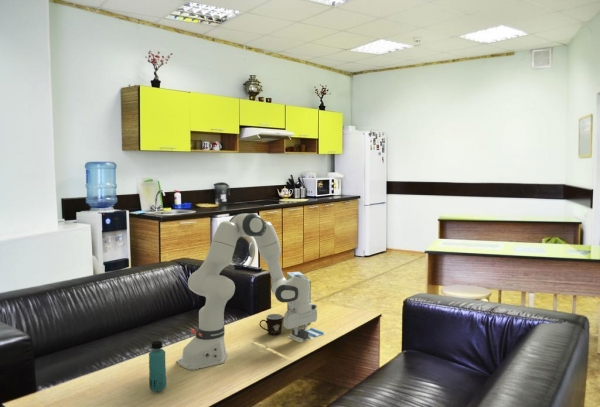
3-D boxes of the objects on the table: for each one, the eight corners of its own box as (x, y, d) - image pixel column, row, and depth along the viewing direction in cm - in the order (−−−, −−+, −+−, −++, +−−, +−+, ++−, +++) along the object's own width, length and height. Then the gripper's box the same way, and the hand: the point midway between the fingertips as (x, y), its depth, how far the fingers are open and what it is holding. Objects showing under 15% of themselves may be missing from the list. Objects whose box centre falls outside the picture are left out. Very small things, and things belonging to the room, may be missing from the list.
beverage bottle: (168, 387, 187) (167, 338, 186) (164, 395, 181) (163, 345, 179) (151, 387, 187) (150, 338, 185) (146, 395, 181) (145, 345, 179)
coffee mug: (283, 332, 248) (283, 314, 247) (281, 338, 239) (281, 319, 238) (262, 331, 249) (262, 313, 248) (259, 337, 241) (259, 318, 240)
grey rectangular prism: (303, 339, 234) (304, 333, 234) (292, 334, 241) (292, 328, 240) (308, 337, 236) (308, 332, 236) (296, 333, 243) (296, 327, 242)
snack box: (285, 314, 277) (286, 271, 274) (299, 313, 279) (300, 271, 277) (296, 327, 256) (297, 281, 254) (311, 325, 259) (312, 280, 256)
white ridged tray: (300, 344, 232) (300, 340, 232) (287, 338, 240) (287, 334, 239) (326, 335, 244) (326, 331, 244) (312, 330, 252) (312, 326, 252)
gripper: (289, 312, 228) (288, 340, 229) (319, 304, 242) (318, 330, 243) (280, 309, 232) (280, 336, 234) (310, 301, 246) (310, 327, 247)
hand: (300, 333), depth 238 cm, fingers closed on grey rectangular prism, 3 cm apart
